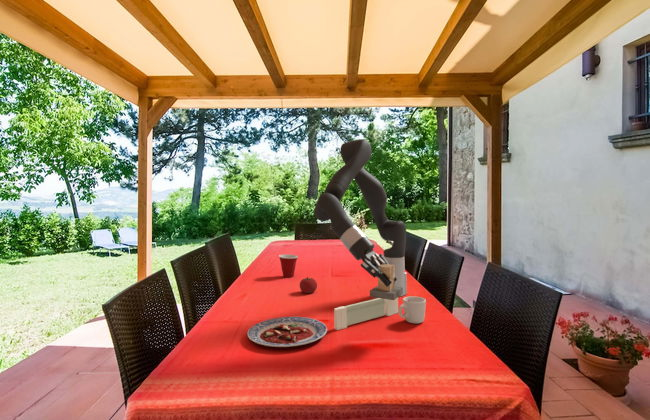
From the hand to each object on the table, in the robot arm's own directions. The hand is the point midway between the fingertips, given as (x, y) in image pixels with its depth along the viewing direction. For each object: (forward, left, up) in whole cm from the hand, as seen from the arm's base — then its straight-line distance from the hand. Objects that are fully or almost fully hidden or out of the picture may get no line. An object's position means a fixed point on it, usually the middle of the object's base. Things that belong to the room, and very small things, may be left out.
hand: (392, 282), depth 117 cm
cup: (-14, -9, -18) cm, 24 cm away
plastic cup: (0, -99, -18) cm, 101 cm away
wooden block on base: (+1, -2, -4) cm, 5 cm away
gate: (0, -17, -17) cm, 24 cm away
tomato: (+3, -63, -18) cm, 66 cm away
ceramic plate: (+29, -17, -18) cm, 38 cm away
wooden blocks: (-2, -17, -18) cm, 25 cm away
